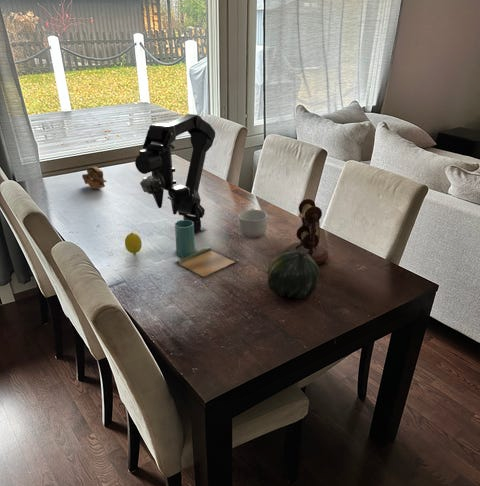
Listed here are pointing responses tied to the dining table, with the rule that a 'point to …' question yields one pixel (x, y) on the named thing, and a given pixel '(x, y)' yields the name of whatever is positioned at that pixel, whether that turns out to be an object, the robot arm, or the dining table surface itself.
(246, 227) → the teacup
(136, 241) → the lemon
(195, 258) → the cork mat
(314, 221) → the brown spool stand
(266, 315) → the dining table surface
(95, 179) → the wooden carving
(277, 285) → the squash
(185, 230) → the cup
